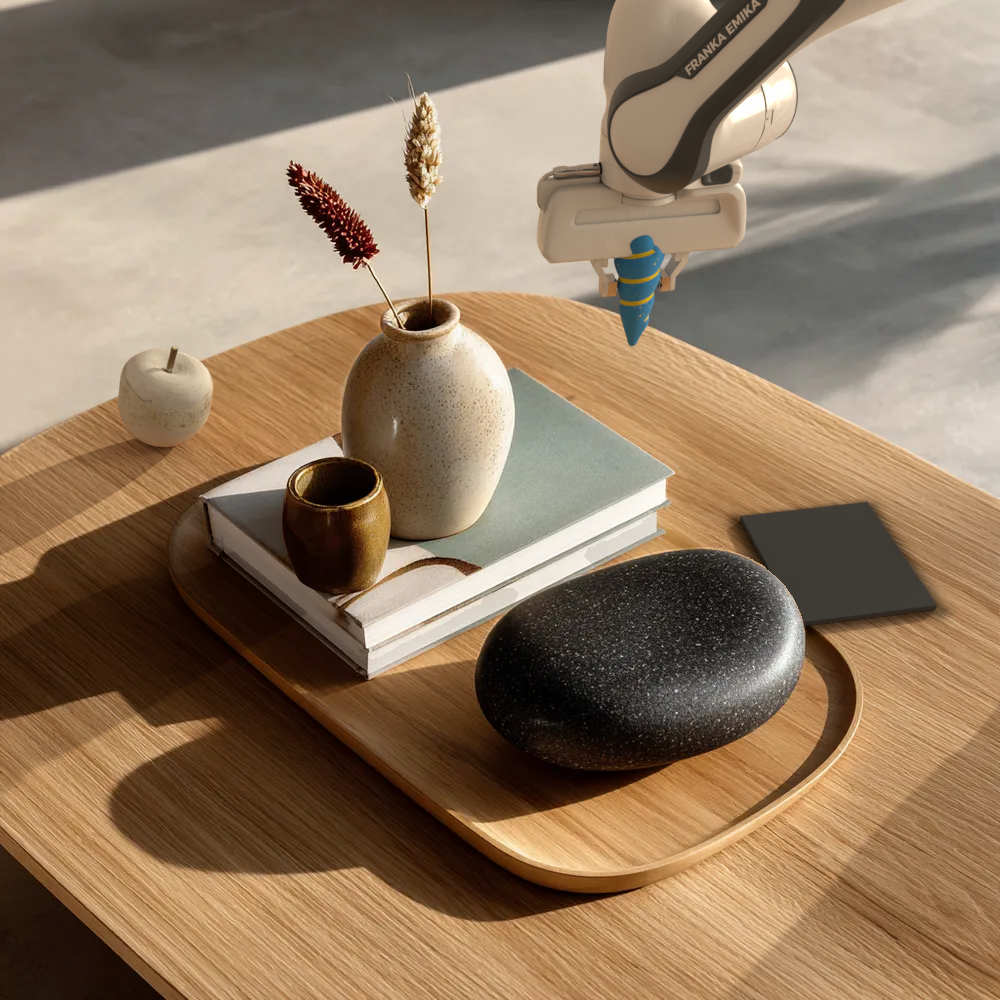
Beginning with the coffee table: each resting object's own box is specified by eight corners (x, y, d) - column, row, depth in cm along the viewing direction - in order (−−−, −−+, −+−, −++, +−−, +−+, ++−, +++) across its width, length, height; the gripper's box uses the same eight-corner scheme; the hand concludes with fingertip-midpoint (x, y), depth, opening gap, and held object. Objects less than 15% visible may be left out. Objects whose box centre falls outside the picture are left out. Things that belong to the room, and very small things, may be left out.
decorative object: (108, 435, 126) (90, 344, 120) (189, 402, 131) (176, 313, 125) (155, 478, 121) (138, 385, 115) (237, 442, 126) (226, 351, 120)
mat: (866, 505, 120) (867, 501, 119) (936, 609, 109) (937, 605, 108) (739, 520, 118) (740, 515, 117) (797, 627, 107) (798, 622, 107)
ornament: (602, 353, 135) (610, 217, 126) (611, 329, 139) (619, 195, 130) (653, 360, 134) (664, 223, 125) (660, 335, 138) (672, 200, 129)
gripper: (544, 182, 121) (541, 316, 129) (760, 165, 124) (743, 297, 132) (530, 154, 126) (528, 285, 134) (738, 139, 129) (723, 268, 137)
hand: (636, 291), depth 133 cm, fingers closed on ornament, 4 cm apart
